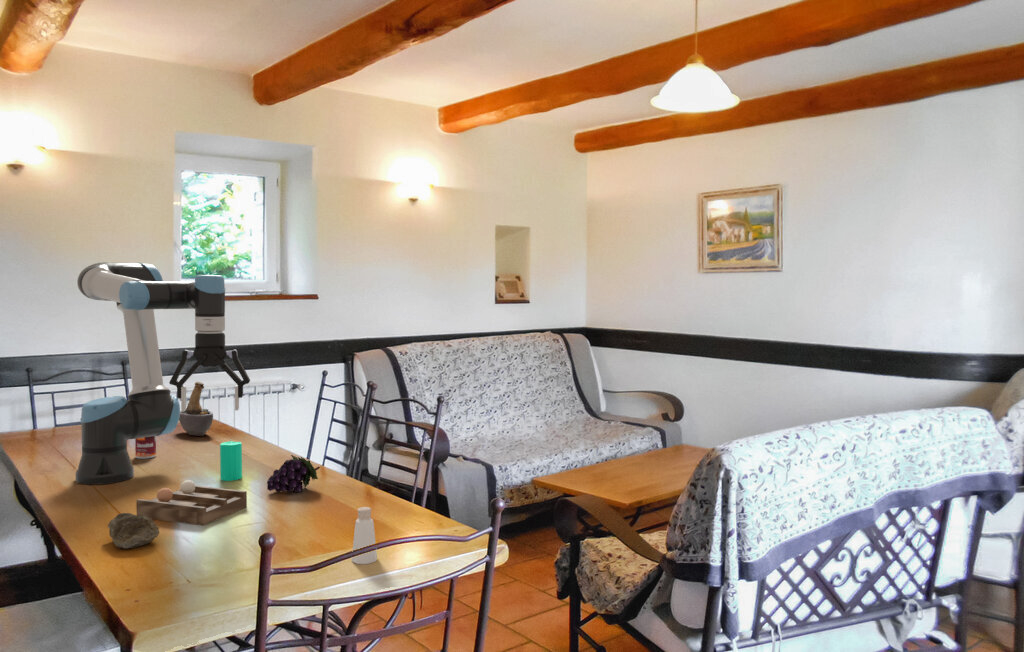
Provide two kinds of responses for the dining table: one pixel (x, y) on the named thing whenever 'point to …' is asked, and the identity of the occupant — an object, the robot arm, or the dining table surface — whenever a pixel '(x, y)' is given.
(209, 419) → the grey mortar and pestle
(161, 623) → the dining table surface
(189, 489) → the ball cream
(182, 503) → the board
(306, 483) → the fruit
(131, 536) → the stone
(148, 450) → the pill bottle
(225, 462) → the candle
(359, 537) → the pepper shaker
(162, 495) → the ball terracotta
